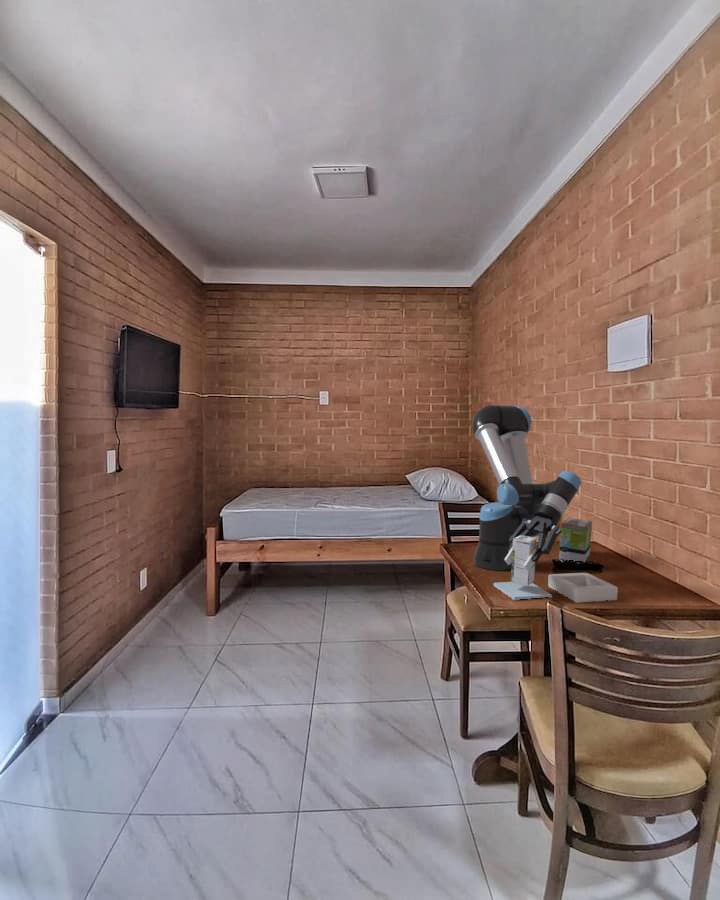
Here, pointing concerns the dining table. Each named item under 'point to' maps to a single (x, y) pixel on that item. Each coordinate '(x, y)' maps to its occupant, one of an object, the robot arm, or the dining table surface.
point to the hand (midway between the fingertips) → (516, 565)
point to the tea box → (575, 539)
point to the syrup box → (522, 560)
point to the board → (521, 590)
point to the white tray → (582, 587)
